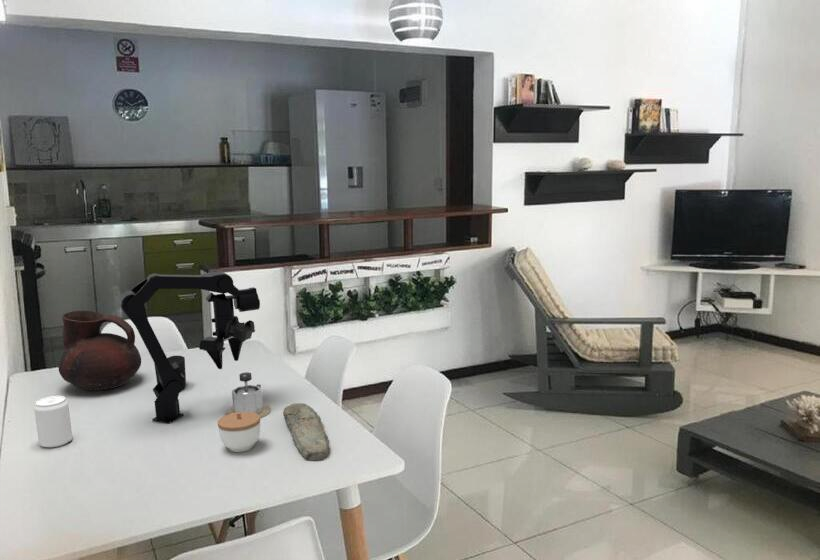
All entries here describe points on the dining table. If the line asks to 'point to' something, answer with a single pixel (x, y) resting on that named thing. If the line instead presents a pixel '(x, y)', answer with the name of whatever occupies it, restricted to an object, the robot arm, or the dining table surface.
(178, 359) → the pen holder
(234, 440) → the lidded jar
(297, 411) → the long grey stone
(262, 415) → the moka pot
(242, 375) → the dark round knob
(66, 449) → the dining table surface
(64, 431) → the beverage can
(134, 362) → the jug
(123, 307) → the robot arm
